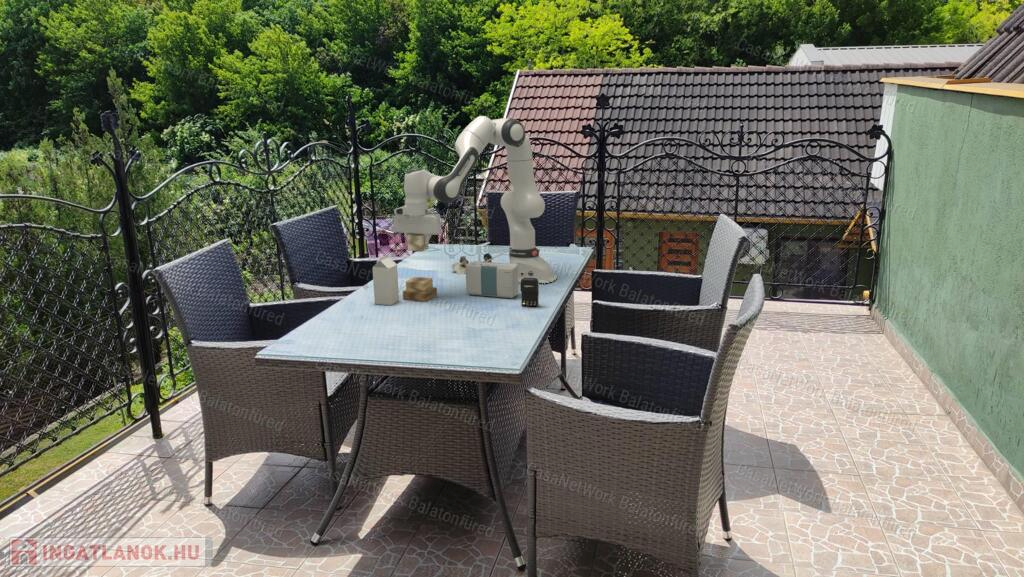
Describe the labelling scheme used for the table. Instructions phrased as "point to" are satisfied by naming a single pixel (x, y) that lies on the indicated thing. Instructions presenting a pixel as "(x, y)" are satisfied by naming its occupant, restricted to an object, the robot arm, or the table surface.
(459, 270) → the artificial flower
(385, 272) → the milk carton
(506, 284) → the stereo radio cassette player
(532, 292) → the battery
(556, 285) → the table surface
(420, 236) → the maple cube
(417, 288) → the oak slab
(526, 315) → the table surface
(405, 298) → the walnut slab
